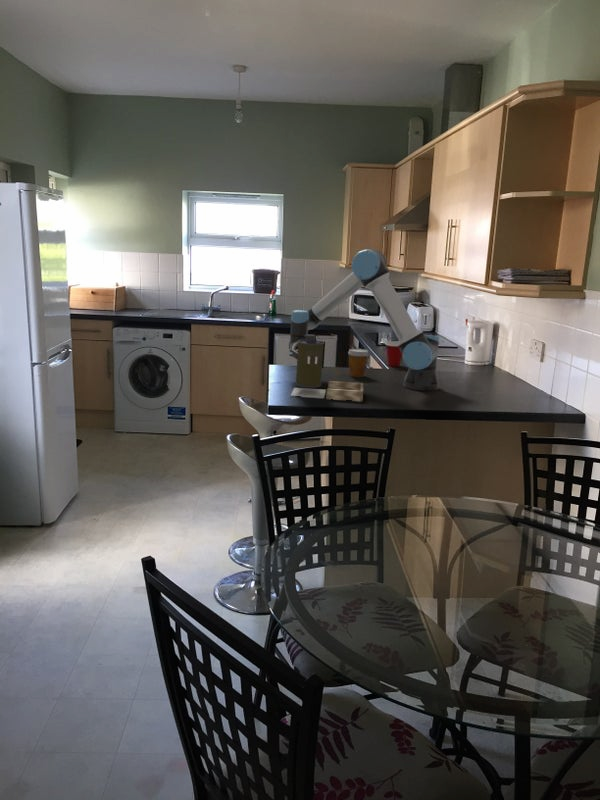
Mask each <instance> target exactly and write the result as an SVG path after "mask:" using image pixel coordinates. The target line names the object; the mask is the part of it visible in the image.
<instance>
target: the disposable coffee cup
mask: <svg viewBox="0 0 600 800" xmlns="http://www.w3.org/2000/svg"><path fill="white" fill-rule="evenodd" d="M347 353H348V363H349V376H351V377H353V376H354V378H363V377H364V375H365V371H366V365H367V360H368V357H369V350H368V349H363V348H350V349H349V351H348V352H347Z"/></svg>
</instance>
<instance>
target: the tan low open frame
mask: <svg viewBox="0 0 600 800" xmlns="http://www.w3.org/2000/svg"><path fill="white" fill-rule="evenodd" d="M325 397H326V398H325V399H326V400H331V399H333V400H335V401H346V400H352V401H351V402H363V400H364V398H363V397H364V383H363V382H350V381H349V382H347V381H334V380H328V387H327V388H326V396H325Z"/></svg>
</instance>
